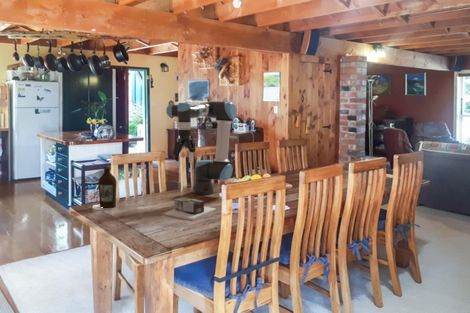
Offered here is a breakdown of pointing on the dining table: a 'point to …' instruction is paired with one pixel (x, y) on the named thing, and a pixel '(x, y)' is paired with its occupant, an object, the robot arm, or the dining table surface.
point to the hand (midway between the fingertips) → (184, 164)
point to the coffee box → (189, 205)
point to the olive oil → (107, 189)
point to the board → (187, 215)
